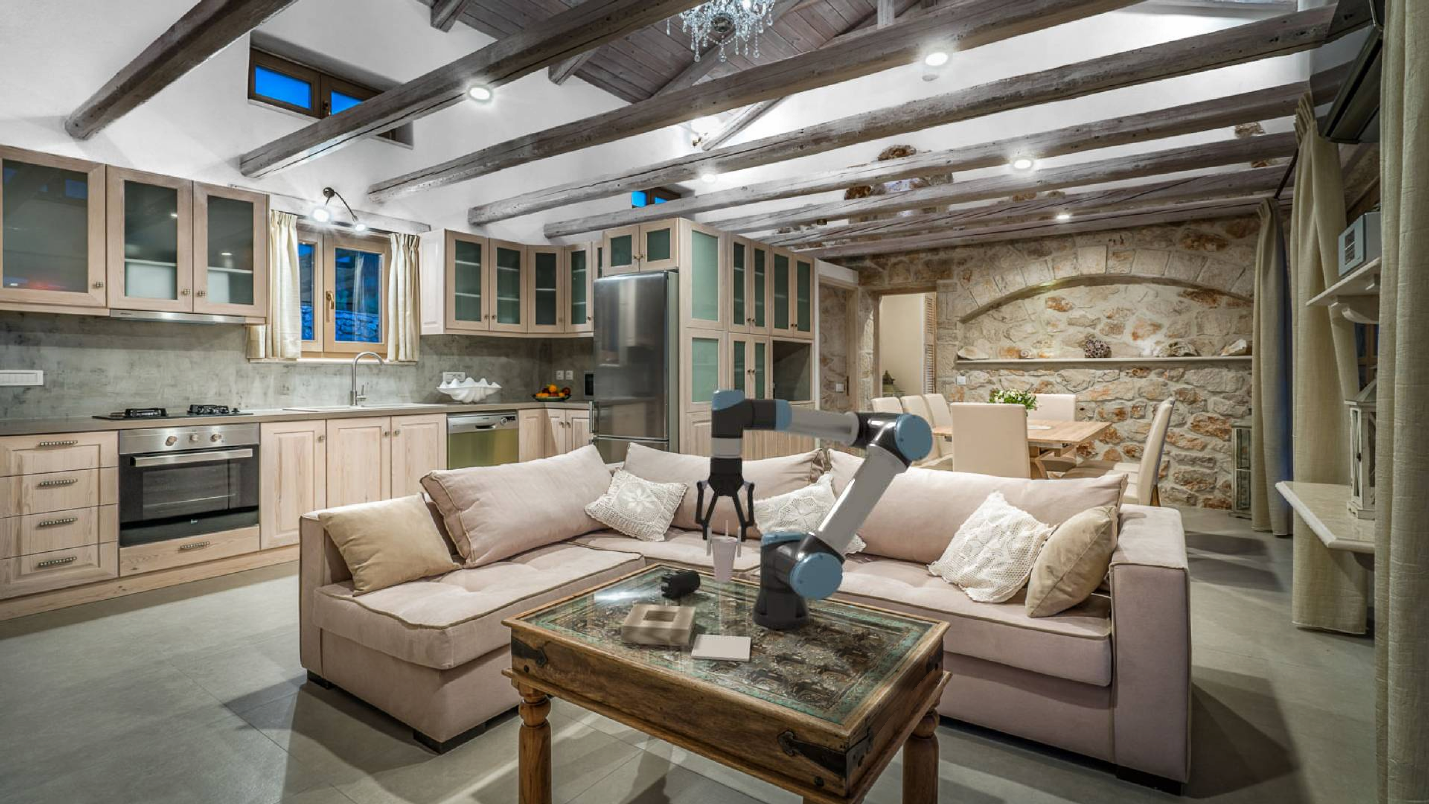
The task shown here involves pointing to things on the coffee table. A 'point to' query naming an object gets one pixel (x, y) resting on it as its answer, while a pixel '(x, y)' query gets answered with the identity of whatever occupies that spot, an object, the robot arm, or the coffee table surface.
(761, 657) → the coffee table surface
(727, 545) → the smoothie
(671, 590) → the end cap
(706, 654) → the tile
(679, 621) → the frame
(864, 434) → the robot arm
